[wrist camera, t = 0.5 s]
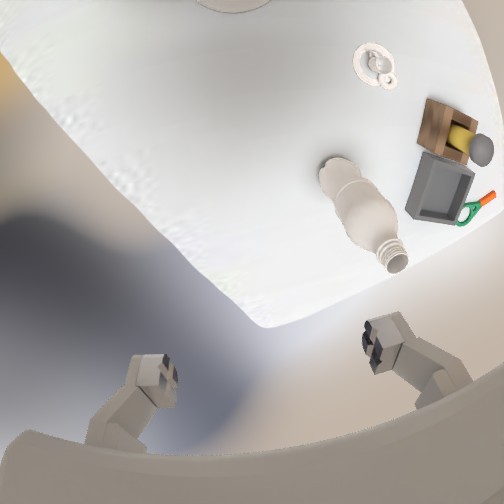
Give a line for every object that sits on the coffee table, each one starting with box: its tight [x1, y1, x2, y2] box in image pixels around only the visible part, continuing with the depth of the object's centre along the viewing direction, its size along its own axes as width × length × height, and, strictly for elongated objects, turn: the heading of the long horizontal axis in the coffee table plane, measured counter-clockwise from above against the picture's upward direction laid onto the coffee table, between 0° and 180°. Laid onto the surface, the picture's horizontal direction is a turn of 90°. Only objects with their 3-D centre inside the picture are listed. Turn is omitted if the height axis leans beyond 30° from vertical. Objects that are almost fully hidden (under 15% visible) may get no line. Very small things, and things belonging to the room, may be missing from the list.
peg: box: [446, 122, 494, 167], centre depth 34 cm, size 5×5×14 cm
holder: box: [417, 99, 478, 165], centre depth 37 cm, size 9×9×6 cm
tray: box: [405, 152, 475, 225], centre depth 46 cm, size 13×13×4 cm
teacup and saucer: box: [353, 43, 398, 90], centre depth 33 cm, size 9×8×4 cm
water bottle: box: [319, 157, 409, 274], centre depth 36 cm, size 7×7×25 cm
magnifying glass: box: [456, 191, 496, 226], centre depth 50 cm, size 15×6×2 cm, turn 126°
